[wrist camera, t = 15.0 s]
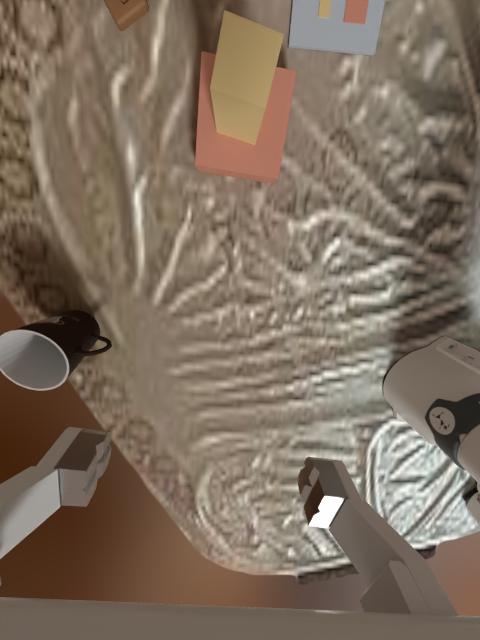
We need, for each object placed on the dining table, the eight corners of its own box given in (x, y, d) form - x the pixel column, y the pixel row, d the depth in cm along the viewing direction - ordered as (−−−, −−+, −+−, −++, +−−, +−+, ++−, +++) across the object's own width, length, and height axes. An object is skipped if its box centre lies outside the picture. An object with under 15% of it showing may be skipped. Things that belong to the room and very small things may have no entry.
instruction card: (390, -34, 25) (392, -38, 25) (373, 55, 28) (375, 53, 27) (296, -45, 24) (297, -50, 24) (288, 47, 27) (289, 44, 27)
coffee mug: (47, 341, 39) (-10, 377, 30) (55, 294, 36) (-5, 318, 27) (118, 364, 41) (86, 405, 32) (131, 322, 38) (100, 353, 29)
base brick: (287, 91, 29) (296, 71, 25) (272, 184, 32) (278, 178, 29) (205, 74, 28) (201, 51, 24) (199, 172, 31) (195, 164, 28)
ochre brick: (266, 97, 26) (284, 34, 17) (255, 145, 27) (265, 108, 19) (226, 82, 25) (224, 9, 17) (216, 132, 27) (210, 88, 18)
